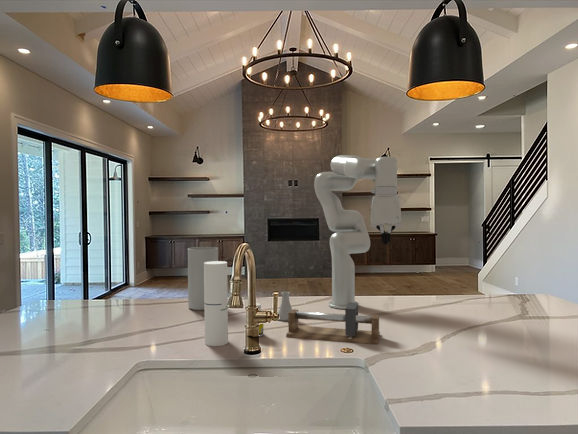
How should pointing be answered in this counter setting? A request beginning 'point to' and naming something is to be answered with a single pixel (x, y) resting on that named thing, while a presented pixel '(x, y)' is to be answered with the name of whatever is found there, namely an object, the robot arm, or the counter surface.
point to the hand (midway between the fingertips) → (385, 244)
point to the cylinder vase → (198, 274)
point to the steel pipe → (330, 317)
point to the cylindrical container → (216, 303)
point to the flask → (284, 307)
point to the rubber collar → (351, 319)
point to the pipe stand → (332, 331)
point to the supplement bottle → (260, 324)
